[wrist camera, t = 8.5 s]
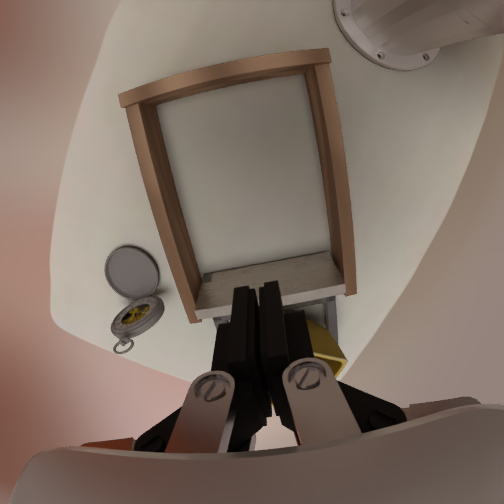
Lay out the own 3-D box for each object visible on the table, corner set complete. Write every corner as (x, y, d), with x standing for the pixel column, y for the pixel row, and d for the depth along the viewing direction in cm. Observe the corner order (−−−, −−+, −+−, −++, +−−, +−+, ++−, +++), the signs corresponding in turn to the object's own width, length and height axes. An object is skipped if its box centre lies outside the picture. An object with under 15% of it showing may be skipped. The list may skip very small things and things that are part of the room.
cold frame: (313, 61, 25) (328, 48, 20) (343, 271, 34) (359, 299, 29) (141, 98, 26) (118, 94, 21) (197, 297, 35) (188, 329, 30)
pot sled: (327, 251, 33) (345, 283, 26) (335, 353, 39) (347, 391, 32) (204, 274, 34) (194, 310, 27) (235, 370, 40) (233, 410, 33)
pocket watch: (120, 233, 32) (79, 276, 23) (183, 274, 34) (163, 329, 25) (96, 285, 35) (59, 334, 26) (152, 320, 37) (129, 377, 28)
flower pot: (264, 290, 35) (268, 341, 27) (331, 310, 36) (350, 361, 28) (238, 345, 38) (236, 399, 30) (300, 361, 40) (309, 413, 31)
